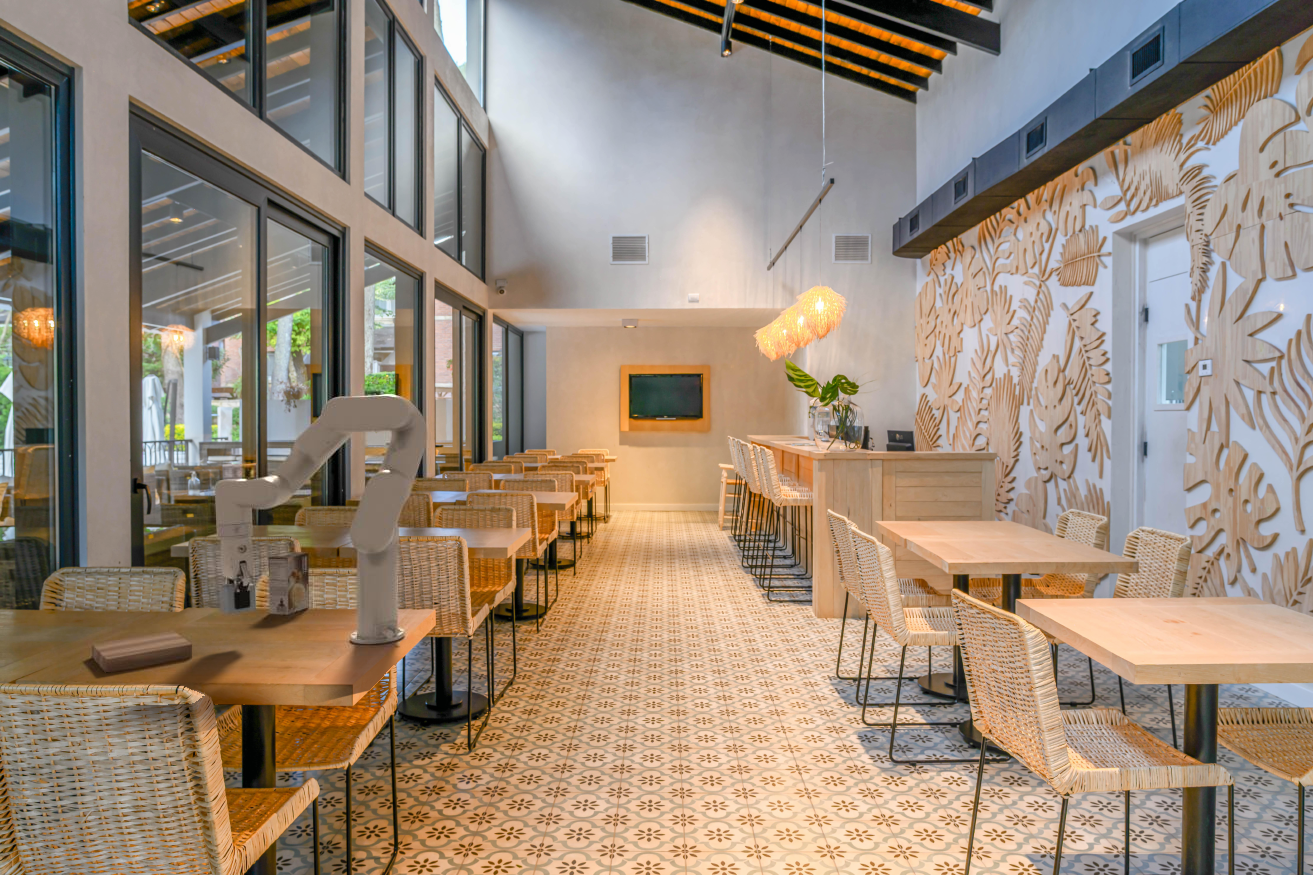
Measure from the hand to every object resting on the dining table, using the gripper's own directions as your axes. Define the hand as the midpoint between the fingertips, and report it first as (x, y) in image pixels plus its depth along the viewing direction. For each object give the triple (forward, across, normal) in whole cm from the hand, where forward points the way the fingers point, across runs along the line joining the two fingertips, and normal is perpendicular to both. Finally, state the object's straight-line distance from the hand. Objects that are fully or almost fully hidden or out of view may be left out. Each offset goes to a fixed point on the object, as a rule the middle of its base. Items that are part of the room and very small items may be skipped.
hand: (238, 605), depth 184 cm
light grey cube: (+1, 0, 0) cm, 1 cm away
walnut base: (+9, +5, +19) cm, 21 cm away
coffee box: (+10, +28, -21) cm, 36 cm away
